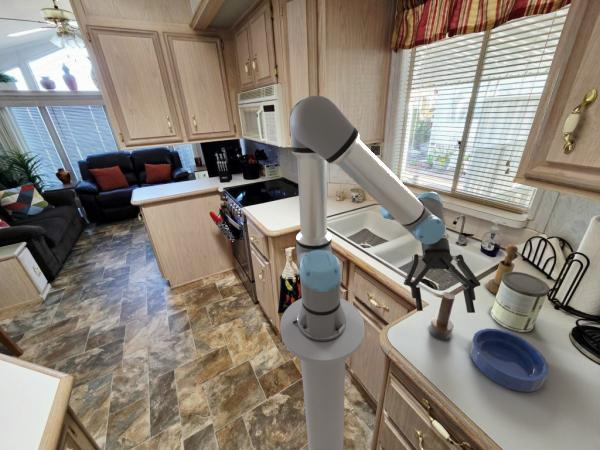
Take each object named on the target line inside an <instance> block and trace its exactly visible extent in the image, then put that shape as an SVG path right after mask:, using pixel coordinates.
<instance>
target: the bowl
mask: <svg viewBox="0 0 600 450" xmlns="http://www.w3.org/2000/svg"><path fill="white" fill-rule="evenodd" d="M470 343H471V344H470V347H469V354H470V358H471V359H472V361H473V363H474V364H475V366H476V367H477V368H478V369H479V371H480V372H482V374H484V375H485V376H487V377H488V378H489V379H490V380H491V381H493V382H495V383H497V384H499V385H500V386H502V387H505V388H507V389H510V390H514V391H516V392H523V393H524V392H525V393H531V392H534V391H538V390H539V389H540V388H541V387H542V386H543V384H544V383H545V381H546V379H547V377H548V375H549V364H548V362H547V360H546V358H545V357H544V355H543V354H542V353H541V352H540V351H539V350H538V349H537V348H536V347H535V346H533V345H532V344H531V343H530V342H528V341H527V340H525V339H523V338H522V337H520V336H519V335H516V334H515V333H511V332H509V331H506V330H502V329H498V328H483V329H479V330H478V331H476V332H475V333H474V335H473V337H472V340H471V342H470Z"/></svg>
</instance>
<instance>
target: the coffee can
mask: <svg viewBox="0 0 600 450" xmlns="http://www.w3.org/2000/svg"><path fill="white" fill-rule="evenodd" d="M550 291H551V288H550V286H549V285H548V283H547V282H546V281H544V280H543V279H541V278H539V277H537V276H535V275H532V274H529V273H526V272H521V271H512V272H506V273H504V274H503V275H502V280H501V283H500V286H499V289H498V293H497V294H496V296H495V298H494V302H493V304H492V308H491V310H490V315H491V317H492V319H493V320H494V321H495V322H497V323H498V324H499V325H501V327H504V328H507V329H509V330H511V331H514V332H519V333H528V332H530V331H532V330H533V329H534V326H535V323H536V321H537V318H538V317H539V314H540V311H541V309H542V308H543V305H544V302H545V300H546V298H547V296H548V294H549V293H550Z"/></svg>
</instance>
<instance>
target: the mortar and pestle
mask: <svg viewBox="0 0 600 450" xmlns="http://www.w3.org/2000/svg"><path fill="white" fill-rule="evenodd" d="M518 251H519V249H518V247H517V246H516V245H515V244H508V245H507V246H506V247H505V253H506V255H505V256H504V260H500V261H499V263H498V267H497V270H496V273H495V276H494V278H491V279H489V280H488V282H487V285H486V288H487V289H488V290H489V292H491V293H493V294H495V295H497V293H498V289H499V286H500V283H501V280H502V275H503V274H504V273H506V272H514V271H513V270H514V268H515V263H513V261H514V255H516V254H517V253H518Z"/></svg>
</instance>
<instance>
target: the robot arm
mask: <svg viewBox="0 0 600 450" xmlns="http://www.w3.org/2000/svg"><path fill="white" fill-rule="evenodd" d="M288 127H289V131H290V145H291V146H290V147H291V153H292V154H293V155H294V156H295V157H296V158H297V159H296V160H297V180H298V182H297V184H298V203H299V205H298V206H299V224H300V231H299V232H298V233H297V234H296V237H295V239H296V241H295V242H296V247H295V254H296V258H297V266H298V273H299V279H300V291H301V292H300V293H301V298H302V305H301V308H300V311H299V314H298V320H296V321H293V324H295V323H297V322H298V327H299V330H300V332H301V333H302V334H303V335H304V336H305V337H306V338H308V339H310V340H312V341H315V342H330V341H333V340H335V339H337V338H339V337H340V336H341V335H342V334H343V332H344V331H345V328H346V316H345V313H344V311H343V308H342V306H341V304H340V298H341V286H342V285H341V281H342V267H341V262H340V259H339V258H338V257H337V255H335V254H334V253H332V234H331V233H330V232H329V231H328V164H330V165H334V164H336V166H338V167H339V168H340V169H341V170H342V171H343V172H344V173H345V174H346V175H347V176H348V177H349V178H351V179H352V181H354V183H356V184H357V185H358V186H359V187H360V188H361V189H362V190H363V191H365V192H366V194H368V195H369V196H370V198H372V199H373V200H374V201H375V202H376V203H378V204H379V205H380V213H381V216H382V218H383V219H385V220H390V221H396V222H397V223H399V225H401V226H402V227H403V228H404V229H405V230H406V231H407V232H408V233H410V234H411V235H412V237H414V238H415V240H417V241H419V242H420V245H421V253H422V255H420V254H418V253H415V254H414V255H412V257H411V264H410V267H409V269H408V272H407V274H406V277H405V279H404V281H403V285H404V286H407V287H409V288H410V291H411V298H412V299H413V300H414V299H415V306H416V311H417V312H422V311H423V312H424V309H423V302H422V294H421V293H422V292H421V287H420V286H418V285H419V284H420V283H421V281H422V280H423V279H424V277H425V276H426V275H427V273H428V272H429V271H430V270H431V271H446V272H447V273H449V274H451V276H452V277H454V279H456V280H457V282H459V284H461V285H462V286H463V290H462V291H463V296H464V302H465V309H466V313H467V314H475V313H476V310H475V304H474V301H476V292H475V288H477V287H480V286H481V282H480V281H479V280H478V278H477V277H476V275H475V274H474V272H473V271H472V270H471V268H470V267H469V265H468V264H467V263H466V262H465V259H464V256H463V255H462V254H461V253H460V254H457V255H452V254H451V249H450V248H451V247H450V243H449V239H448V236H449V235H448V232H447V226H446V225H447V224H446V220H445V213H444V205H443V202H442V198H441V195H440V194H439V193H438V192H434V191H428V192H427V191H426V192H422V193H419V194H417V195H415V194H414V193H413V192H411V190H410V189H409V188H408V187H407V186H406V185H404V184H403V182H402V181H401V180H400V179H399V178H398V177H397V176H396V175H395V174H394V172H392V171H391V170H390V169H389V168H388V167H387V166H386V164H384V163H383V162H382V161H381V160H380V158H378V156H376V155H375V153H373V152H372V151H371V150H370V148H369V147H368V146H367V145H365V143H364V142H363V141H362V140H361V139H360V131H359V130H358V129H357V128H356V127H355V126H354V125H353V124H352V123H351V121H350V120H349V119H348V118H347V117H346V116H345V115H344V113H343V112H342V110H340V109H339V108H338V106H337V105H336V104H335V103H334V102H333V101H331V99H329V98H328V97H326V96H322V95H311V96H307V97H306V98H303V99H301V100H299V101H298V102H297V103H296V104H295V105H294V106H293V108H292V109H291V111H290V113H289V116H288ZM421 261H422V262H423V263H424V264H425V265H424V266H423V267H422V269H421V270H420V272H419V273H418V274H417V276H416V277H415V278H414V276H415V272H416V269H417V267H418V265H419V263H420V262H421ZM452 262H454V263H455V264H456V266H457V267H458V268H459V270H460V271H461V272H460V271H459V270H458V269H457V267H456V266H455V265H454V264H453V263H452ZM413 278H414V279H413ZM412 280H413V281H412Z"/></svg>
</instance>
